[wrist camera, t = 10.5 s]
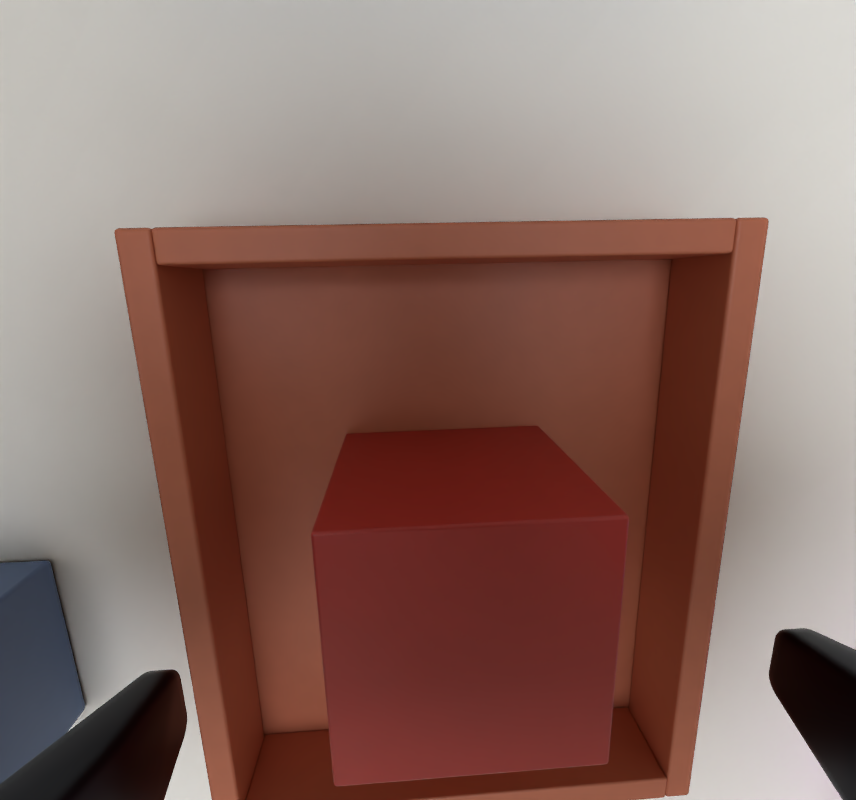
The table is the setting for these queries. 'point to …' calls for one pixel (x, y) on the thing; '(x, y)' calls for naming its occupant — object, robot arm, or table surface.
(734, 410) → the terracotta tray
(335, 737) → the red block
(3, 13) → the table surface
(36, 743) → the blue block
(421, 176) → the table surface
